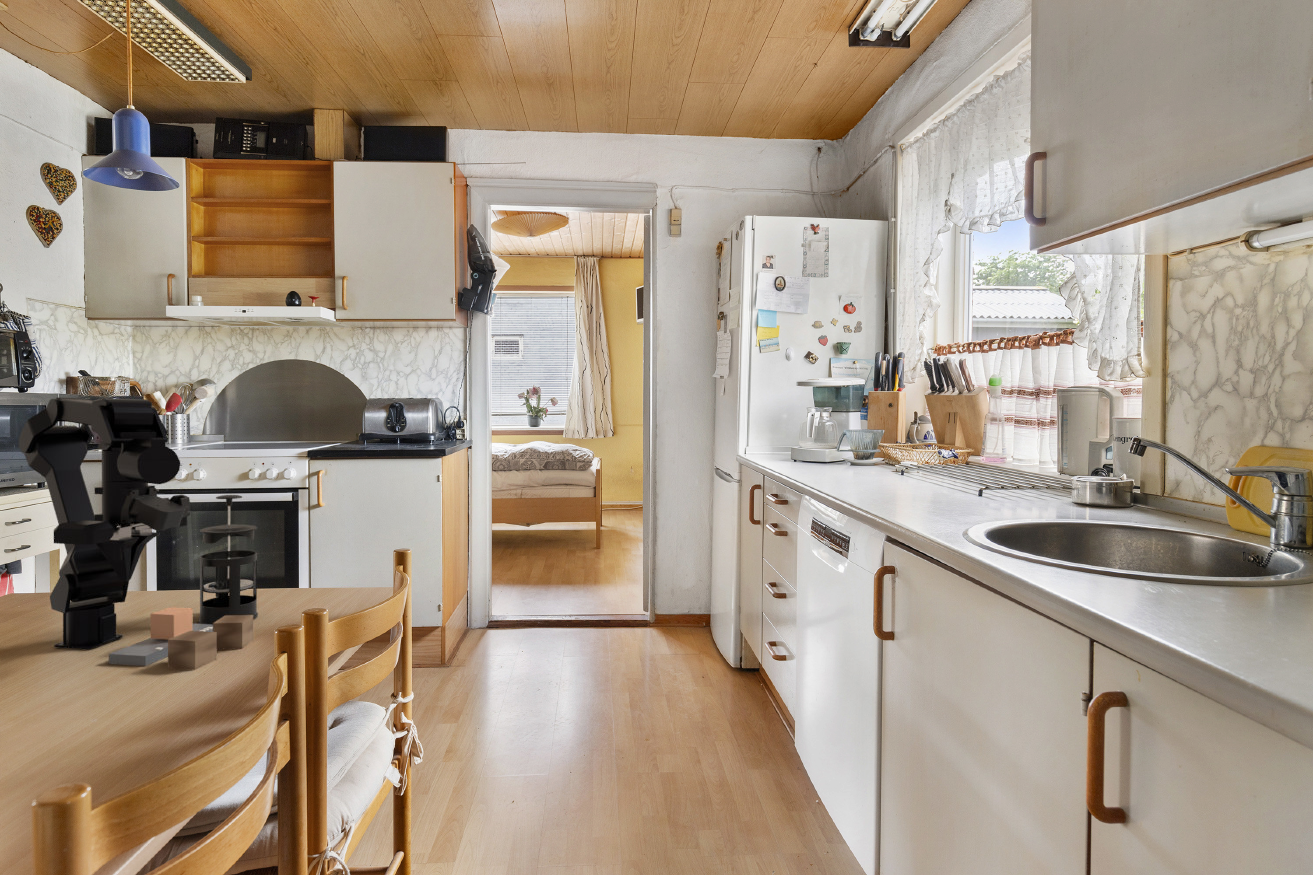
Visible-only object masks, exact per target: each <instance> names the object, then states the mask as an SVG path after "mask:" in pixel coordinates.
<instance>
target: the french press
mask: <svg viewBox="0 0 1313 875" xmlns="http://www.w3.org/2000/svg"><path fill="white" fill-rule="evenodd" d="M242 498H243V496H242V495H239V494H223V495H218V496H216V497H215V499H216V500H225V503H226V504H225V505H226V507H227V524H221V525H216V526H207V527H203V528H202V529H200V530H199V532H200V533H201V534H202V542H203V543H204V544H210V545H212V544H216V543H218V542H219V541H220V540H222V539H223V538H227V550H226V549H225V550H217V551H212V552H208V553H204V554H201V555H200V556H199V561H200V562H199V568H200V570H199V619H198V624H212V625H213V623H214V622H216V621H217V620H219V619H220V618H222V617H223V616H228V615H253V621H254V620H256V619H257V618H258V616H259V613H258V611H257V609H258V608H257V607H258V605H257V602H258V601H257V599H258V598H257V592H258V591H257V584H258V583H257V582H258V580H257V578H258V573H257V572H258V570H257V569H258V553H257V551H255V550H247V549H243V550H242V549H235V550H234V549H233V550H232V549H231V537H245V538H247V539H248V540H251V541H253V540H255V531H256V530H258V526H256V525H251V524H237V523H236V524H234V523H232V524H231V507H233V500H235V499H236V500H237V499H242ZM252 563H253V564H252ZM248 564H252V565H253V567H252V572H253V573H252V576H253V577H252V578H253V579H252V580H251V579H241V566H243V565H248ZM204 567H208V568H210V567H211V568H212V567H213V568H215V581H213V582H212V581H211V582H209V583H206V584H204ZM252 588H253V589H252ZM251 589H252V590H253V592H252V595H245V594H241V592H243V591H247V590H251ZM204 593H208V594H215V597H213V598H208V599H206V600H204Z"/></svg>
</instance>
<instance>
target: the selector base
mask: <svg viewBox="0 0 1313 875" xmlns="http://www.w3.org/2000/svg"><path fill="white" fill-rule="evenodd" d="M193 631H204V632H213V625H212V624H199V623H193ZM165 658H168V639H151V637H149V638H146V639H143V640H141V641H139V642H136V643H134V644H131V645H128V646H125V647H123V648H121V649H118V650H116V651H113V652H111V653H108V664H109V665H122V666H123V665H125V666H126V665H127V666H137V667H138V666H142V667H145V666H146V667H147V666H148V665H151V664H153V663H156V662H158V661H160V660H163V659H165Z"/></svg>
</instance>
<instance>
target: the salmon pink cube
mask: <svg viewBox="0 0 1313 875" xmlns="http://www.w3.org/2000/svg"><path fill="white" fill-rule="evenodd" d="M193 612H194V610H193V608H192V607H191V608H190V607H172V606H169V607H166V608H164V609H161V610H158V611H154V612H151V613H150V638H151V639H171V638H173V637H176V636H178V635H181V634H183V633H186V632H188V631H193V624H194V623H193V614H194V613H193Z"/></svg>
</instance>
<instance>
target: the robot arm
mask: <svg viewBox="0 0 1313 875" xmlns="http://www.w3.org/2000/svg"><path fill="white" fill-rule="evenodd" d="M58 422H61V423H62V422H64V423H65V422H68V423H74V424H80V426H79V427H78V426H77V425H57V423H58ZM93 432H94V433H96V434H97V435H98V436H99V437H100V439H101V440H102V441H100V442H99V444H98V445H97V449H98V450H101V486H97V487H94V495H101V513H97V514H95V512H94V509H93V505H92V502H91V498H90V496H89V493H88V492H89V491H88V489H87V487H86V483H85V480H84V475H83V472H82V470H81V466H82V463H83V461H84V460H85V458H86V456H87V454H88V447H89V445H90V444H91V441H92V440H93V437H94V434H93ZM167 434H169V433H168V430H167V428H166V427H165V425H164V423H163V422H162V420H161V418H160V415H159V413H158V410H157V408H156V407H154V406H153V402H151V401H150V400H149V399H143V398H142V399H141V398H137V399H136V398H106V397H105V398H104V397H103V398H102V397H101V398H98V399H95V400H91V399H86V398H84V397H64V396H63V397H60V396H59V397H58V396H57V397H55V398H50V399H49V402H48V403H47V405H46V408H44V409H43V410H40V411H39V412H38V413H37V414H34V415H33V416H32V417H30V418H28V419H27V420H26V422H25V425H23V428H22V430H21V432H20V435H19V437H18V438H19V439H18V445H19V447H18V448H19V450H20V452H21V453H22V454H24V457H25V460H26V462H27V464H28V466H29V467H30V468H31V469H32V470H34V472H36V473H37V474H38V475H40V476H42V477H43V478H45V482H46V485H47V489H48V491H49V495H50V499H51V502H52V506H53V509H54V513H55V516H56V520H57V523H58V524H57V526H56V527H55V528H54V529H53V544H59V545H64V549H65V552H66V556H65V559H64V560H63V562H62V565H61V567H60V569H59V571H58V575H59V576H58V577H59V578H58V580H57V582H56V584H55V585H54V587H53V589H52V592H51V593H50V595H49V601H50V607H51V609H52V610H53V611H56V612H59V613H62V639H63V640H62V641H59V642H56V643H54V644H53V648H59V649H60V648H61V649H76V650H92V649H95V648H98V647H100V646H103V645H106V644H109V643H111V642H114V641H117V640H119V639H122V638H123V637H124V636H123V634H121V633H120V634H119V633H117V613H116V611H115V604H118V603H125V602H126V598H127V594H128V590H129V584H130V580H131V579H132V577H133V575H134V573H135V570H136V567H137V565H138V562H139V559H140V558H141V554H142V553H143V550H144V548H145V547H146V545H147V544H148V543H149V542H151V540H153V539H154V538H156V537H158V536H160V535H161V533H160V531H166V530H167V529H176V528H180V527H185V526H187V525H188V518H187V517H190V516H191V501H190V500H191V499H190V497H189V496H188V495H185V494H176V495H173V496H172V497H171V498H169V497H161V496H158V493H157V492H158V490H157V488H156V485H162V484H166V483H168V482H170V481H172V480H173V479H174V478H176V476H177V475H178V474H179V471H180V468H181V460H180V458H179V456H178V454H177V453H176V451H175V450H173V449H172V448H170V447H168V446H166V443H168V442H169V438H168V436H167ZM149 484H153V485H149ZM153 530H154V531H159V532H153Z"/></svg>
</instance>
